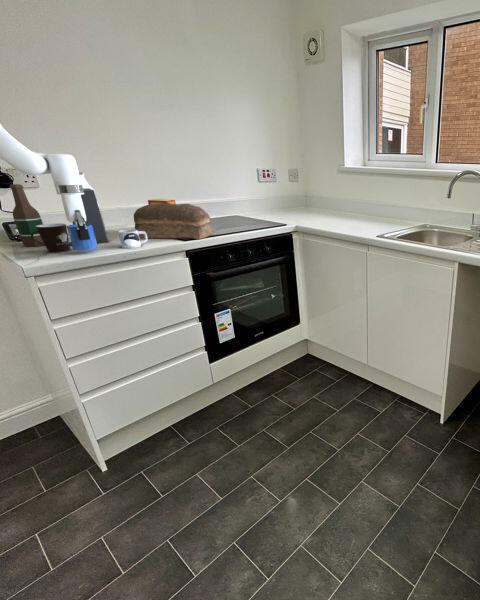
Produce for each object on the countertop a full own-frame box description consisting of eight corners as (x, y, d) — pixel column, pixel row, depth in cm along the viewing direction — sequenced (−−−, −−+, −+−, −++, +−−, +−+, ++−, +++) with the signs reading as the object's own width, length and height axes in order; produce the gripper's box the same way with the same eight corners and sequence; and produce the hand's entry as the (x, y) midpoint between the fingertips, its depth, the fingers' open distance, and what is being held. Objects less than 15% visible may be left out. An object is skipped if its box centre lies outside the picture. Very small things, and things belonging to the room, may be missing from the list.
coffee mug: (68, 247, 144) (61, 222, 140) (77, 250, 139) (69, 225, 136) (30, 252, 134) (20, 226, 131) (38, 255, 130) (29, 229, 126)
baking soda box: (180, 230, 184) (174, 198, 179) (173, 232, 178) (166, 200, 173) (162, 229, 185) (156, 198, 179) (154, 231, 178) (147, 199, 173)
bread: (203, 240, 164) (197, 205, 159) (132, 238, 162) (123, 203, 157) (216, 234, 178) (211, 202, 172) (151, 232, 176) (144, 200, 170)
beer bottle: (50, 242, 150) (30, 183, 142) (49, 245, 145) (28, 185, 136) (24, 244, 146) (3, 183, 137) (22, 248, 140) (-1, 185, 131)
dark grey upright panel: (59, 247, 143) (41, 191, 135) (55, 242, 151) (38, 189, 143) (108, 242, 154) (94, 190, 146) (103, 237, 162) (89, 188, 154)
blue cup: (74, 251, 131) (68, 227, 128) (72, 248, 135) (65, 224, 132) (99, 249, 136) (93, 225, 133) (96, 245, 140) (90, 223, 137)
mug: (126, 249, 144) (121, 232, 142) (118, 246, 147) (114, 230, 145) (152, 245, 152) (149, 229, 149) (145, 242, 155) (141, 227, 153)
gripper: (53, 188, 131) (66, 235, 137) (58, 192, 120) (73, 243, 126) (79, 188, 136) (91, 233, 142) (87, 191, 125) (99, 240, 131)
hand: (82, 237), depth 134 cm, fingers closed on blue cup, 7 cm apart
